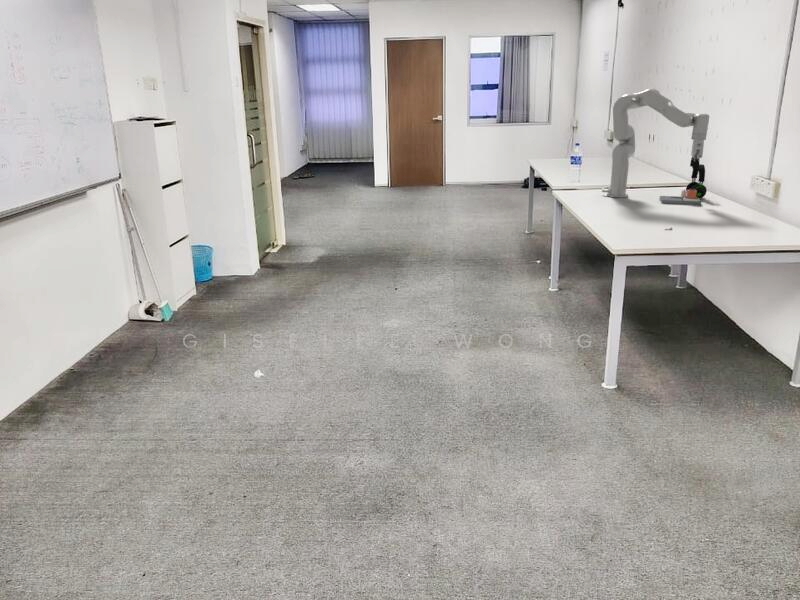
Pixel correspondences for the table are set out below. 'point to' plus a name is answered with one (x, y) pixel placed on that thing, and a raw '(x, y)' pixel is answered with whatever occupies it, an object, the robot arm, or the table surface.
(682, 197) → the block
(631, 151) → the robot arm
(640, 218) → the table surface
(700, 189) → the headphones
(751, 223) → the table surface
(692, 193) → the cap
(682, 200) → the panel
